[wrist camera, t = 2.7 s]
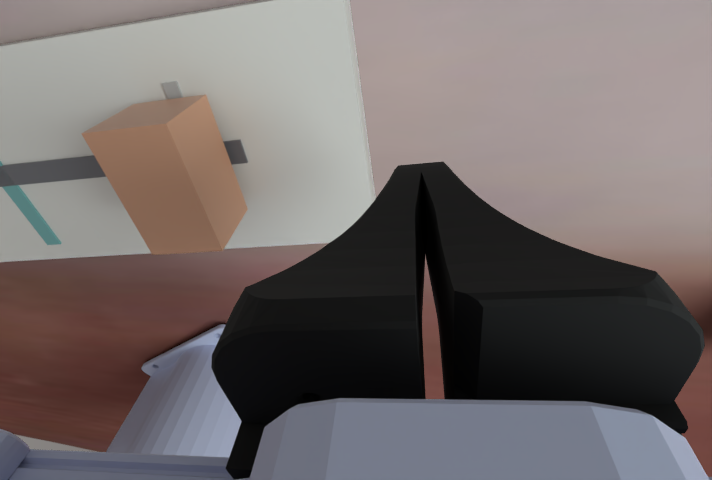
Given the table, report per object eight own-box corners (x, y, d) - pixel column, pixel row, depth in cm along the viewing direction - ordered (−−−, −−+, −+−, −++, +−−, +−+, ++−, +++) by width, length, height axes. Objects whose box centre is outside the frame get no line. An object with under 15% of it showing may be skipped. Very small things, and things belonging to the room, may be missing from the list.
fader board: (347, -15, 13) (342, -11, 12) (378, 222, 19) (377, 241, 18) (-174, 74, 17) (-220, 83, 16) (-16, 248, 23) (-41, 265, 22)
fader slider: (206, 94, 14) (165, 123, 12) (247, 209, 17) (222, 250, 15) (133, 103, 15) (80, 133, 12) (186, 213, 18) (152, 254, 15)
